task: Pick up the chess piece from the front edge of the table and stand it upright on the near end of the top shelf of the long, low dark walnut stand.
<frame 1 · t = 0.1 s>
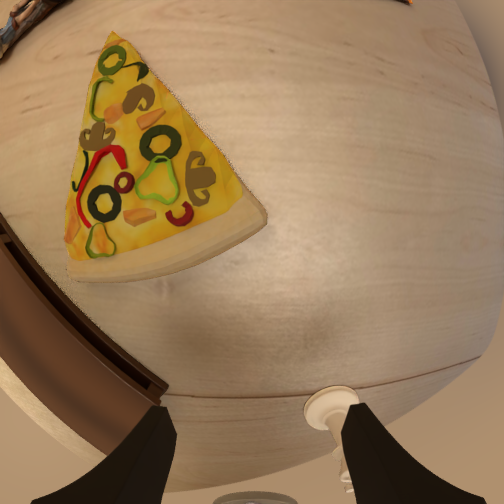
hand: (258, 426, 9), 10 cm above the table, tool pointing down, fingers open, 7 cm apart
stand: (1, 279, 20), on the table
figurine: (30, 25, 15), on the table
pizza slice: (133, 135, 18), on the table
chess piece: (330, 405, 21), on the table
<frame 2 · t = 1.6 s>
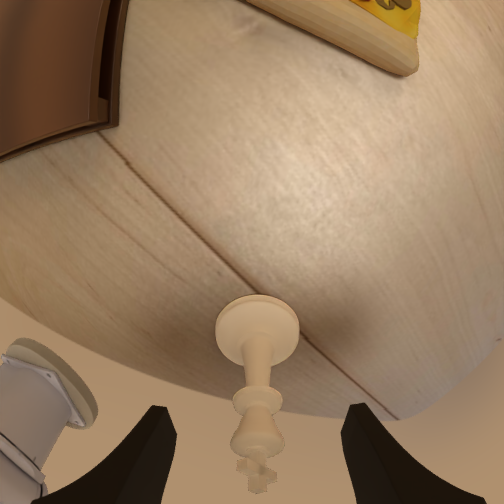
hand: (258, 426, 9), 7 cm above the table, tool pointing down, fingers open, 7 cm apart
chess piece: (257, 329, 16), on the table
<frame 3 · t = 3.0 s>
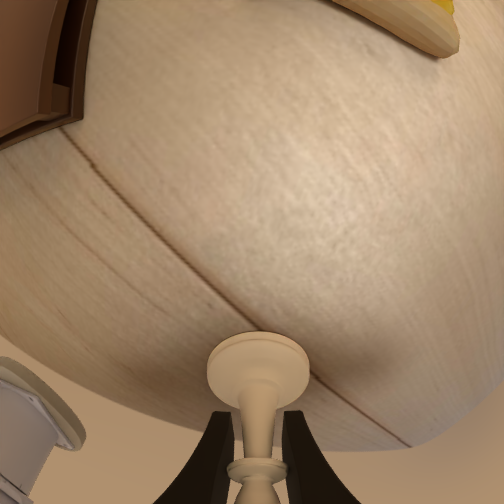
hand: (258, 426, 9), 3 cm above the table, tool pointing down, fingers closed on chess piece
chess piece: (258, 368, 13), on the table, touching gripper
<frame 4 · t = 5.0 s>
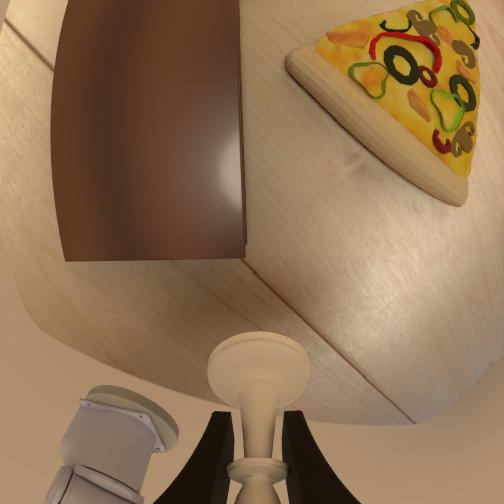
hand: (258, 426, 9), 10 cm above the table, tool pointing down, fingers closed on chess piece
pizza slice: (428, 55, 13), on the table
chess piece: (258, 368, 13), point 7 cm above the table, touching gripper
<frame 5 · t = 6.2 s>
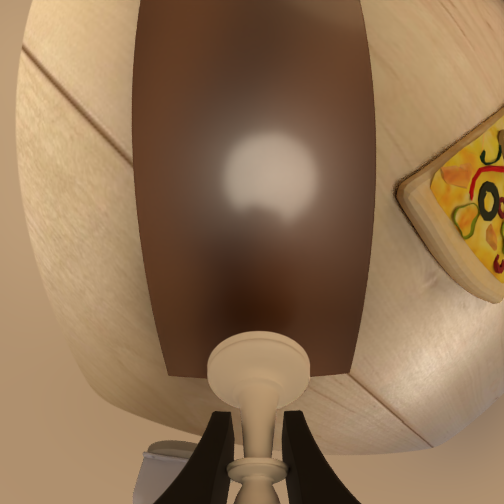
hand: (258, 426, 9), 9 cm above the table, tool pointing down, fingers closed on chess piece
stand: (251, 49, 13), on the table
pizza slice: (499, 166, 14), on the table
chess piece: (258, 368, 13), point 6 cm above the table, touching gripper
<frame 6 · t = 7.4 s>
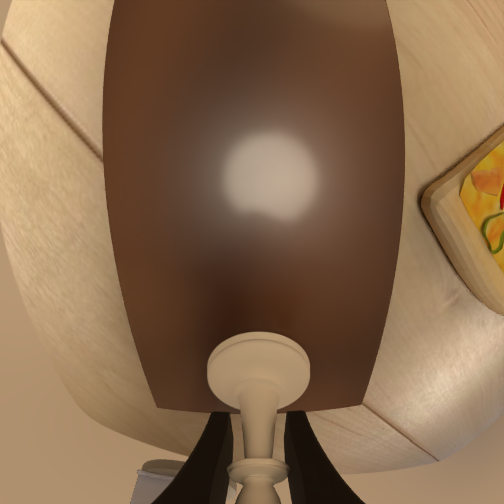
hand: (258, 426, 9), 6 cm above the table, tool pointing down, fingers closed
stand: (250, 28, 10), on the table
chess piece: (258, 369, 13), point 3 cm above the table, touching stand
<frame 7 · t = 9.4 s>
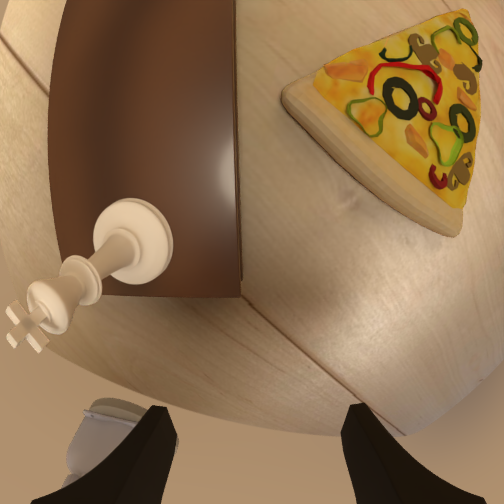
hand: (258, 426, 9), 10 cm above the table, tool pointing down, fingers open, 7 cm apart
stand: (150, 7, 12), on the table
pizza slice: (428, 80, 14), on the table
chess piece: (134, 240, 15), point 3 cm above the table, touching stand
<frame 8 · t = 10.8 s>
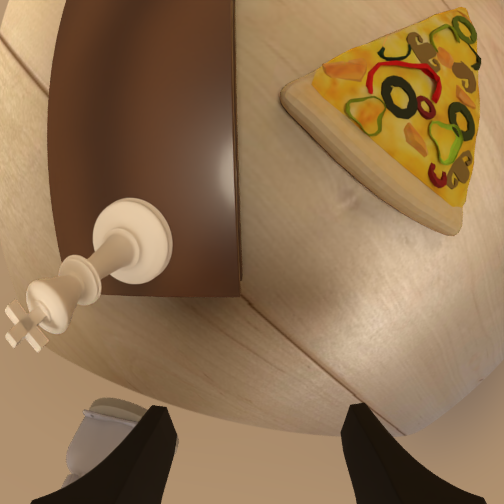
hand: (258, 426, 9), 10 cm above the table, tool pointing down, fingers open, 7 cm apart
stand: (150, 7, 12), on the table
pizza slice: (427, 79, 14), on the table
chess piece: (133, 239, 15), point 3 cm above the table, touching stand
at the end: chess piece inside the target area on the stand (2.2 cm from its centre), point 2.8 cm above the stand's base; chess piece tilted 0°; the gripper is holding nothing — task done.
